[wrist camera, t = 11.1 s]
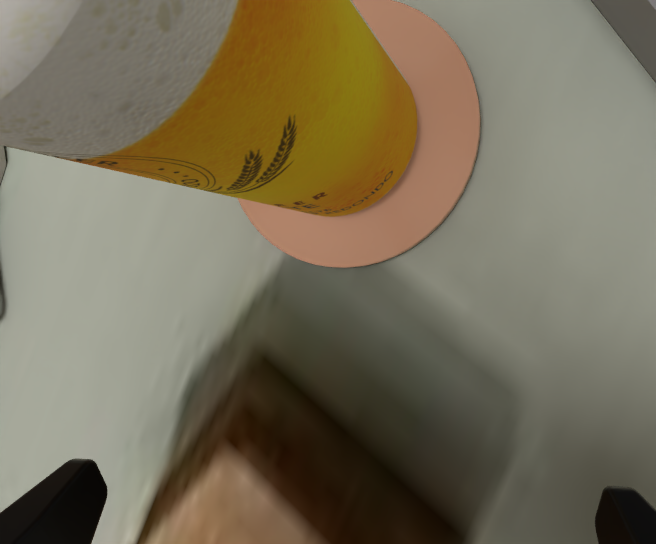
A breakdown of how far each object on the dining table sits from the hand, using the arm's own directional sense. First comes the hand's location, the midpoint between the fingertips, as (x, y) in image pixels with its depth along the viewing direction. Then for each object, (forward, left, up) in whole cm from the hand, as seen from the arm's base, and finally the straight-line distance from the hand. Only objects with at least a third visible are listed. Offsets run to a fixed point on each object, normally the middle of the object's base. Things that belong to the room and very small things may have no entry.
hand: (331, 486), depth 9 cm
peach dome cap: (+9, -2, -10) cm, 14 cm away
